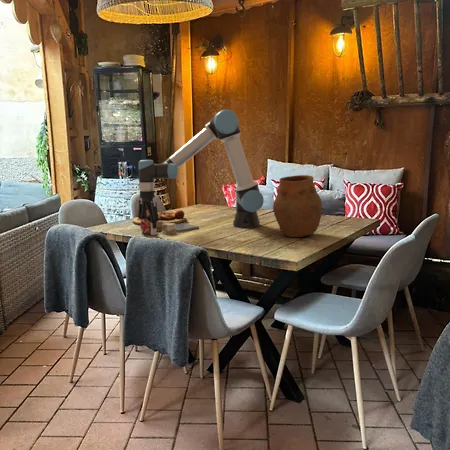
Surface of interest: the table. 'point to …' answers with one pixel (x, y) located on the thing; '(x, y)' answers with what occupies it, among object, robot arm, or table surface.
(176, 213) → the wooden plate with food
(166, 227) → the beech block
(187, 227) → the slate mat
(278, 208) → the pot
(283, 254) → the table surface
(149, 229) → the flower
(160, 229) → the walnut block
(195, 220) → the table surface
